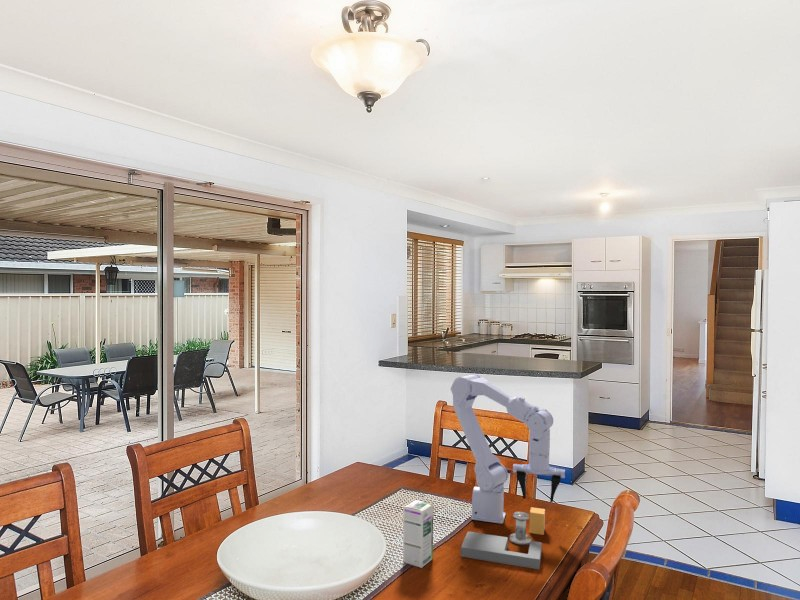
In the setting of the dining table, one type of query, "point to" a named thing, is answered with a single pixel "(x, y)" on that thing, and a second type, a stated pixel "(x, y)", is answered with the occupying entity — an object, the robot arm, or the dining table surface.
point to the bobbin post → (520, 529)
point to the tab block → (537, 520)
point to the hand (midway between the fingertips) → (537, 499)
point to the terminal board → (499, 550)
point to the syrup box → (418, 533)
